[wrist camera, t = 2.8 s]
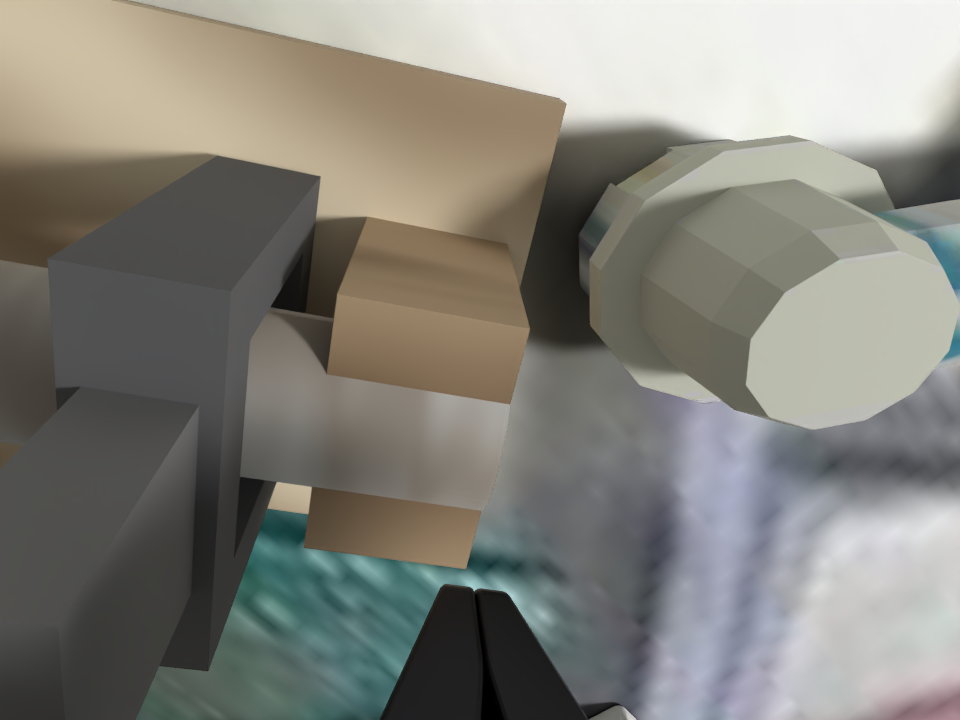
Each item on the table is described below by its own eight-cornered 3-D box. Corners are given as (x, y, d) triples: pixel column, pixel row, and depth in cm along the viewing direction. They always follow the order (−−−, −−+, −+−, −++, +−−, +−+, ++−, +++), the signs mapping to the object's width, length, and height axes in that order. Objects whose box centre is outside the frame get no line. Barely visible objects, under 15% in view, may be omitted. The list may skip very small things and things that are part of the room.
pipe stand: (456, 510, 19) (460, 706, 14) (-315, 400, 17) (-685, 587, 11) (559, 98, 14) (627, 148, 9) (-495, -142, 12) (-1284, -275, 6)
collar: (290, 443, 16) (109, 941, 8) (204, 429, 16) (-88, 930, 7) (320, 176, 14) (91, 469, 5) (217, 155, 13) (-227, 424, 5)
